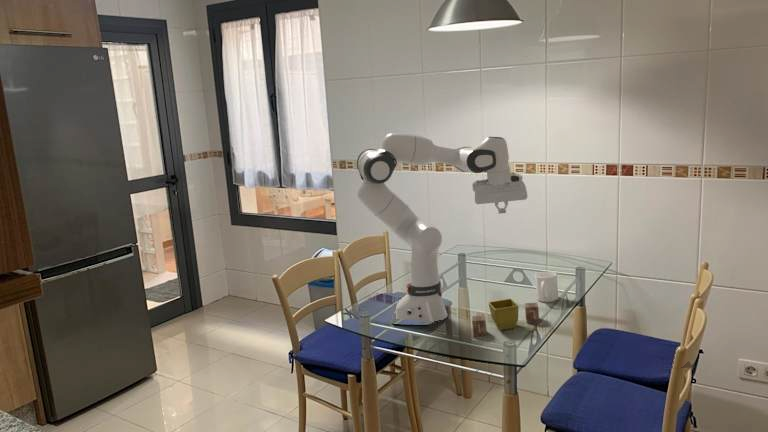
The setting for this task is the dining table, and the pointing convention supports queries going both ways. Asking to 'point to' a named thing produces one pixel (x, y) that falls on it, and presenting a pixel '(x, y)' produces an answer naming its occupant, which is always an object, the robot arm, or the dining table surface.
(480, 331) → the numbered block one
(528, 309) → the numbered block seven
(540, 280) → the mug
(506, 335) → the dining table surface
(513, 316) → the flower pot
